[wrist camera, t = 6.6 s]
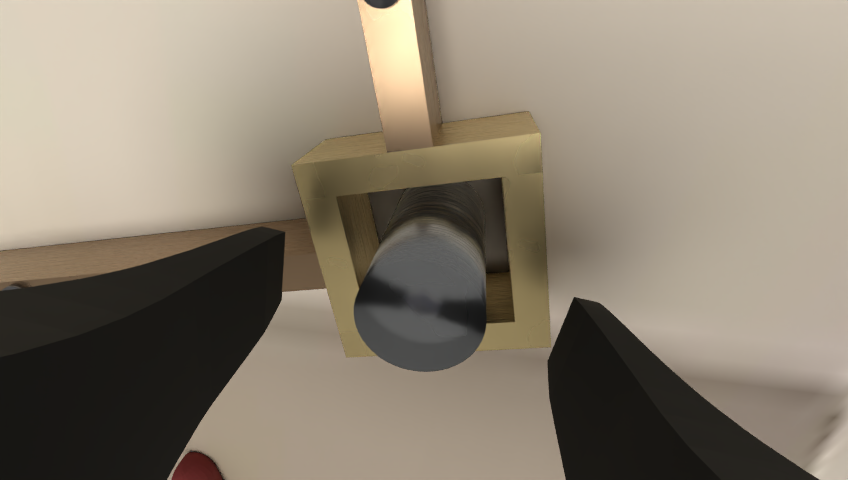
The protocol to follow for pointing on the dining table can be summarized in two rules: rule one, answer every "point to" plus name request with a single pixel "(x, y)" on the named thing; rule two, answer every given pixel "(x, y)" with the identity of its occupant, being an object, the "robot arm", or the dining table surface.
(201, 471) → the pliers
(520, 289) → the hinge
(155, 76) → the dining table surface
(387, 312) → the hinge pin
